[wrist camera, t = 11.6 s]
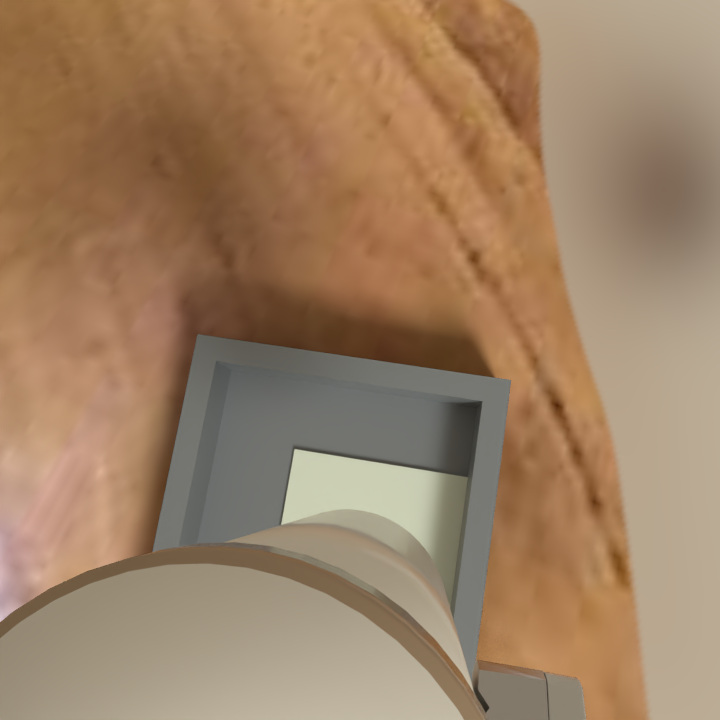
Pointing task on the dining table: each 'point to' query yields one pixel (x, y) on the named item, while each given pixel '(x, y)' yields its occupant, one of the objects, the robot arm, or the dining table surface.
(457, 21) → the dining table surface
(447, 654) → the tube
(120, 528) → the dining table surface
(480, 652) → the dining table surface
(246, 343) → the tray
